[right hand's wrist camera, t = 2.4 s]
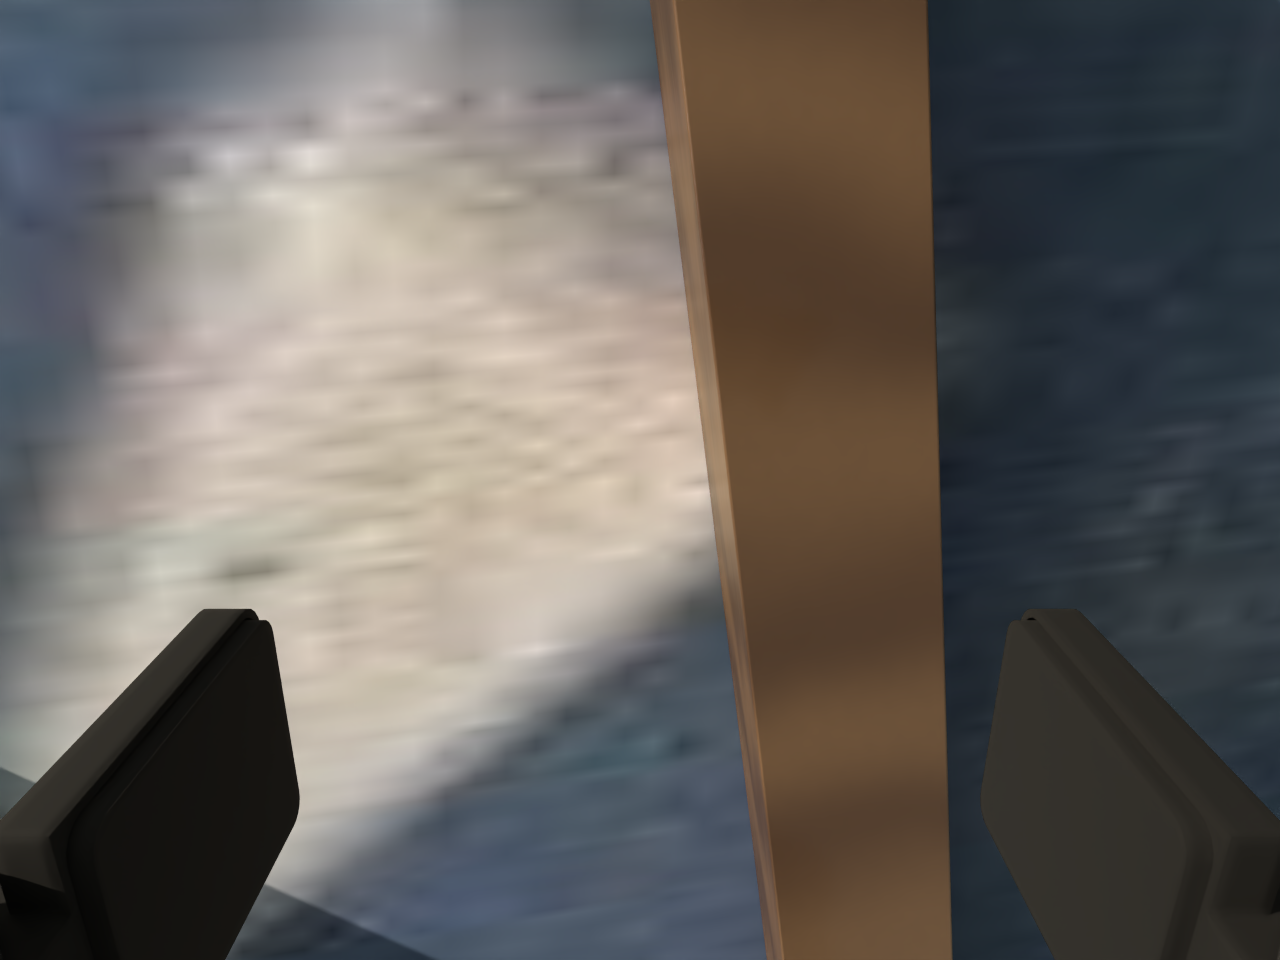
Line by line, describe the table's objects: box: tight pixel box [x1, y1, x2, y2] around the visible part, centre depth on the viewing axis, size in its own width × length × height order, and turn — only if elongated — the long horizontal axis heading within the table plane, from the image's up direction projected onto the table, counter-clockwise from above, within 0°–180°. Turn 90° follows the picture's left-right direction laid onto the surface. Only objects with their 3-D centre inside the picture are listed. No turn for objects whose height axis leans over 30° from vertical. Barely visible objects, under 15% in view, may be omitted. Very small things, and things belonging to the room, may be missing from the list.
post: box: [650, 0, 953, 960], centre depth 30 cm, size 76×5×8 cm, turn 8°
